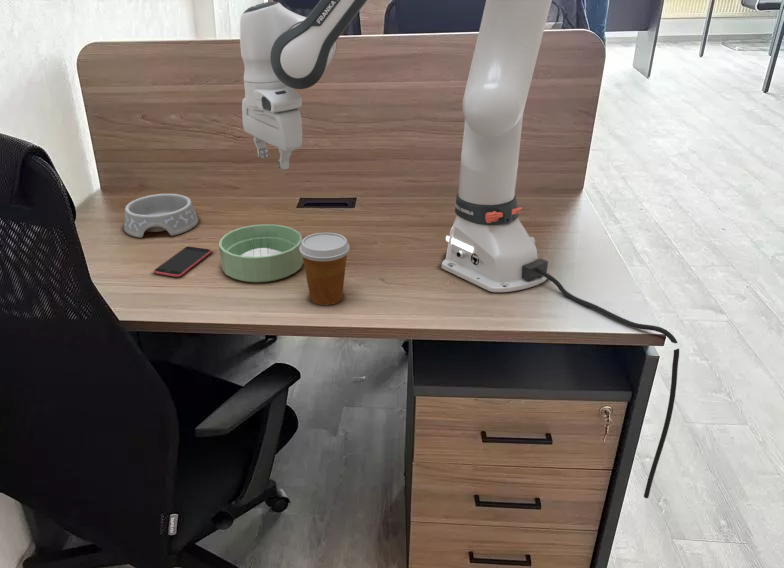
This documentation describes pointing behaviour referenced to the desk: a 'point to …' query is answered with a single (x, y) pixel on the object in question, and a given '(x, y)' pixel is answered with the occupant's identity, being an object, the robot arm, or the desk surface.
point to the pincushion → (261, 251)
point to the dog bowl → (160, 215)
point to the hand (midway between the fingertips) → (273, 162)
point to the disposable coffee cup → (325, 266)
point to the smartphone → (182, 261)
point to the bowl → (261, 266)
